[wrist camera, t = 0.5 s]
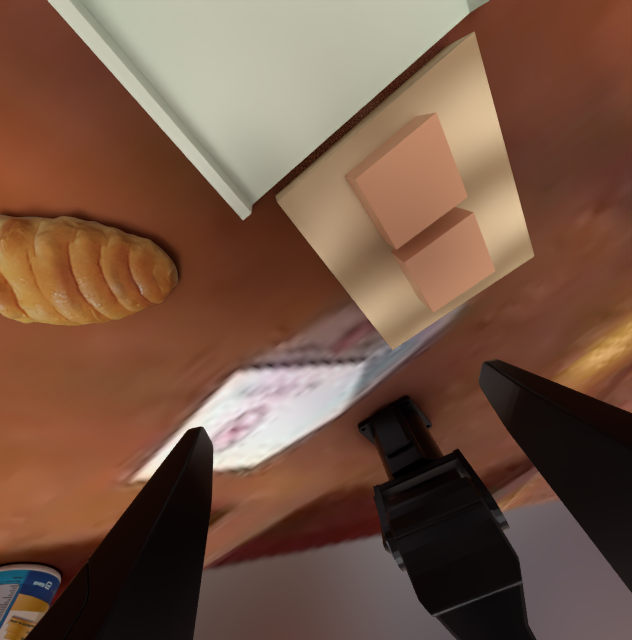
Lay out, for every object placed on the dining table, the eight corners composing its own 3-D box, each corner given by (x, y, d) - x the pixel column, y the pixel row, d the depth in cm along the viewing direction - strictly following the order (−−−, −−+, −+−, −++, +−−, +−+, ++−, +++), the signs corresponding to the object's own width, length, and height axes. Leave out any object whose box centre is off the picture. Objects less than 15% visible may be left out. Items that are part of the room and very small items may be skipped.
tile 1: (475, 260, 20) (495, 270, 18) (419, 298, 20) (433, 312, 19) (452, 205, 17) (473, 212, 16) (390, 252, 18) (404, 262, 16)
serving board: (508, 245, 22) (534, 256, 20) (381, 332, 25) (392, 349, 23) (444, 47, 15) (474, 31, 13) (274, 195, 18) (276, 202, 16)
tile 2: (447, 191, 17) (467, 196, 15) (383, 240, 18) (396, 249, 16) (415, 116, 15) (436, 112, 13) (344, 176, 15) (355, 179, 14)
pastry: (168, 211, 17) (148, 227, 14) (189, 308, 21) (176, 337, 18) (-13, 209, 16) (-82, 227, 13) (43, 314, 19) (0, 348, 16)
